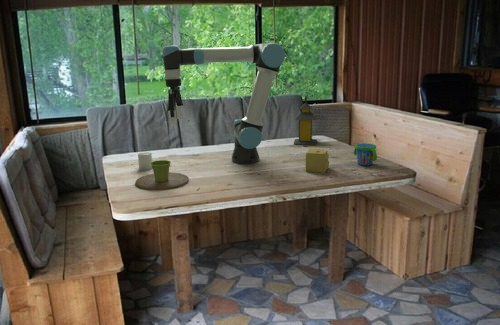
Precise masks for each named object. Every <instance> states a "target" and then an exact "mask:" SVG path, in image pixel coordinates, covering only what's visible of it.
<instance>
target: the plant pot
mask: <svg viewBox="0 0 500 325" xmlns="http://www.w3.org/2000/svg"><path fill="white" fill-rule="evenodd" d="M150 164H151V165H152V168H153V169H152V172H153V174H154V177H155V181H156V182H166V181H167V180H168V177H169V172H170V167H171V164H172V162H171V161H170V160H167V159H166V160H165V159H163V160H162V159H161V160H160V159H159V160H154V161H152V162H151V163H150Z"/></svg>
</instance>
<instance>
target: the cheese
mask: <svg viewBox="0 0 500 325" xmlns="http://www.w3.org/2000/svg"><path fill="white" fill-rule="evenodd" d="M329 156H330V154H329V153H328V151H327V150H325V149H321V148H316V147H309V148H308V151H307V152H306V153H305V172H311V173H322V174H324V173H326V172H327V170H328V169H329V167H330V160H329Z"/></svg>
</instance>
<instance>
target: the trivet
mask: <svg viewBox="0 0 500 325" xmlns="http://www.w3.org/2000/svg"><path fill="white" fill-rule="evenodd" d="M189 180H190V178H189V176H188V175H187V174H184V173H181V172H173V171H172V172H171V171H169V177H168V180H167V181H166V182H156V181H155V177H154V173H149V174H146V175H142V176H140V177H138V178H136V179H135V186H136V187H137V188H139V189H141V190H147V191H167V190H173V189H178V188H180V187H184V186H185V185H187V184H188V183H189Z"/></svg>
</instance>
